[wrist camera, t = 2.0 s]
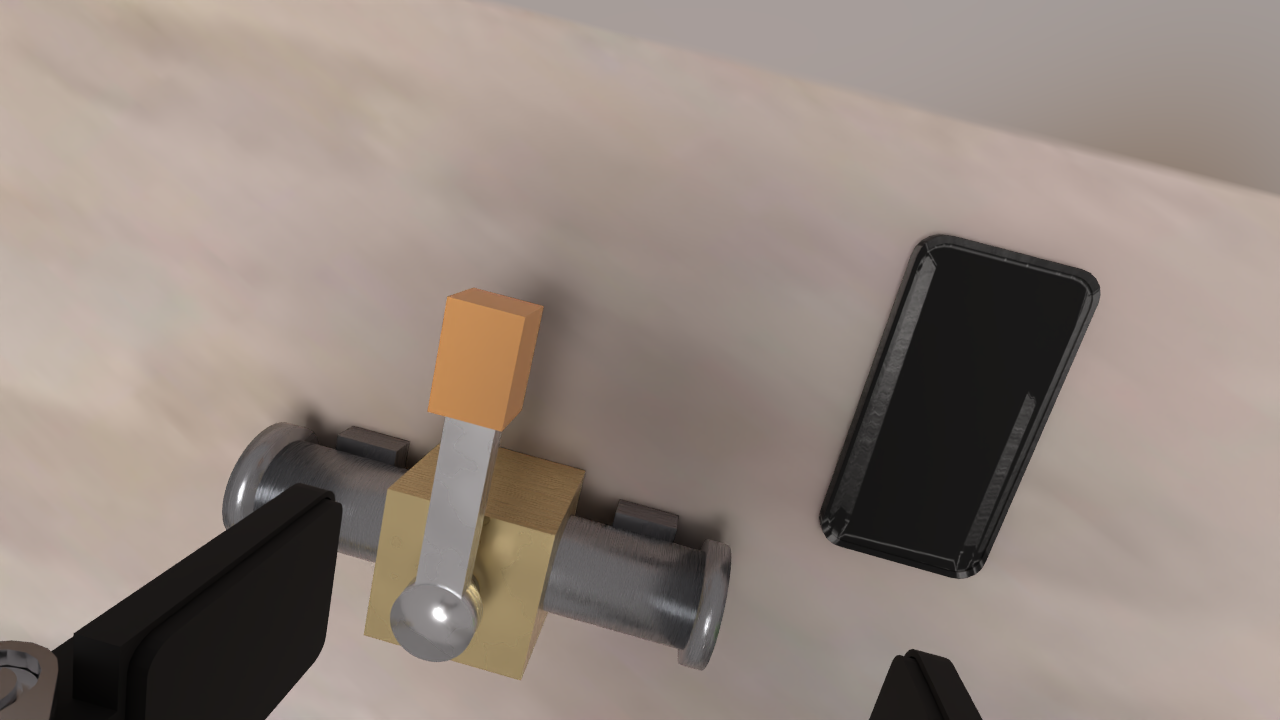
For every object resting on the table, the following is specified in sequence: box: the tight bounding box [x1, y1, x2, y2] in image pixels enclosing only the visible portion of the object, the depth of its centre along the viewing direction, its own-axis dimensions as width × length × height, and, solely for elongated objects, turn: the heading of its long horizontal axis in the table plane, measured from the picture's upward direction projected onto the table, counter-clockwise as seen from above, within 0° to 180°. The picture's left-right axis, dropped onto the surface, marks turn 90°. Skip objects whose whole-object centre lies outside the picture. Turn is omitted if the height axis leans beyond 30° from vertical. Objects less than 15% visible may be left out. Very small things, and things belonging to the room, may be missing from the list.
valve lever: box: [390, 288, 544, 662], centre depth 24 cm, size 14×3×2 cm, turn 166°
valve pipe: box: [222, 422, 731, 680], centre depth 30 cm, size 22×7×8 cm, turn 76°
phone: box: [819, 234, 1100, 579], centre depth 30 cm, size 8×1×15 cm
